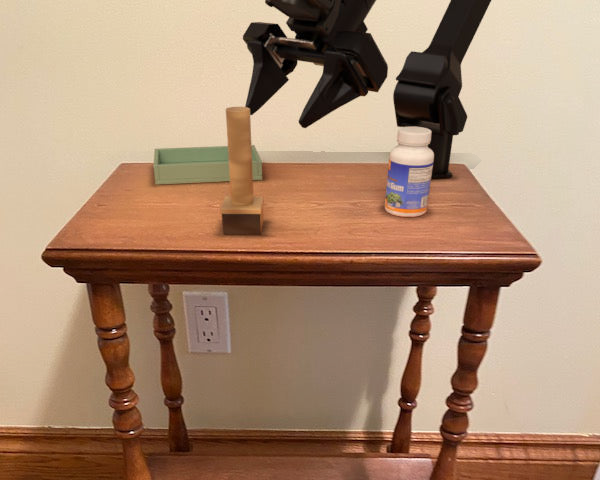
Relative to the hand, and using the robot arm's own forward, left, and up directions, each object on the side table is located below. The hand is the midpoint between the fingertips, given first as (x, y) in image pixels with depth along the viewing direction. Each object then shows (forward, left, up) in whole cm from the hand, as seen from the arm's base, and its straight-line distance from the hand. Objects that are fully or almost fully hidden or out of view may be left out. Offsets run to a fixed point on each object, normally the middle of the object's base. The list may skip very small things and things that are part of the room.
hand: (273, 118), depth 71 cm
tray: (+7, -22, -11) cm, 25 cm away
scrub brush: (+4, +3, -11) cm, 12 cm away
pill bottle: (-17, 0, -12) cm, 20 cm away
